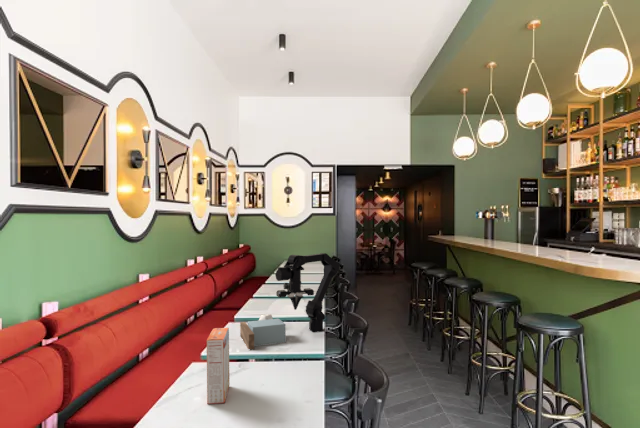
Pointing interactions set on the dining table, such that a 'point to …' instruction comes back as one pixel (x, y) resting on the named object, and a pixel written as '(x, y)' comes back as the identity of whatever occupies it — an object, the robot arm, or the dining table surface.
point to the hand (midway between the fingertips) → (295, 309)
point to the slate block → (268, 331)
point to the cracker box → (217, 365)
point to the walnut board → (247, 335)
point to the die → (265, 317)
